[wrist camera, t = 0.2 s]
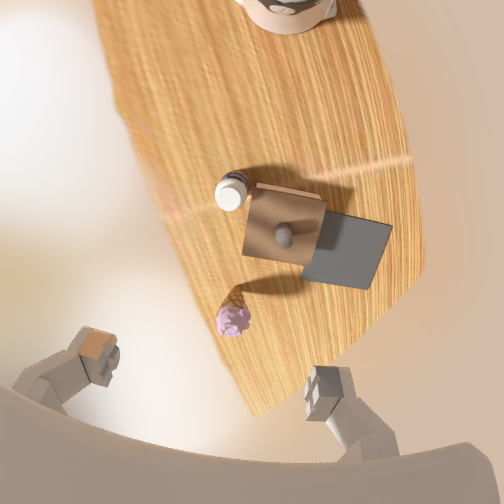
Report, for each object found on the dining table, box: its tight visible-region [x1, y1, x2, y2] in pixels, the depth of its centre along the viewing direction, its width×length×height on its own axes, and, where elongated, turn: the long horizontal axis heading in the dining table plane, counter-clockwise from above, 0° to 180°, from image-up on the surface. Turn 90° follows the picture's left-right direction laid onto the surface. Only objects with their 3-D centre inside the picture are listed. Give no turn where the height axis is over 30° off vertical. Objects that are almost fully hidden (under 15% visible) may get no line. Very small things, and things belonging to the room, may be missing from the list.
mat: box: [301, 211, 392, 290], centre depth 61 cm, size 16×16×1 cm
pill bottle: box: [215, 171, 249, 211], centre depth 51 cm, size 5×5×10 cm
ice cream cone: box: [217, 285, 251, 337], centre depth 60 cm, size 7×6×15 cm
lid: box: [242, 186, 328, 267], centre depth 51 cm, size 13×13×6 cm
